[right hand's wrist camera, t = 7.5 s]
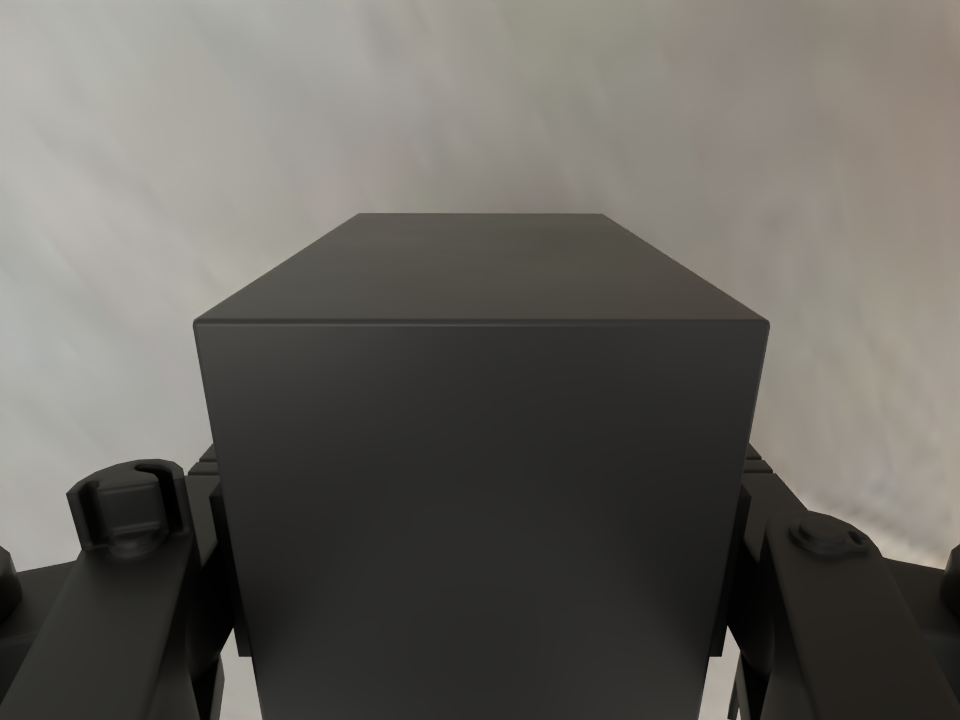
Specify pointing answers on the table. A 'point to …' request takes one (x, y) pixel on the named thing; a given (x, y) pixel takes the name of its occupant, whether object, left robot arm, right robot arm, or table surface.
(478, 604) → the bar
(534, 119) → the table surface
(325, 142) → the table surface
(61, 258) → the table surface
